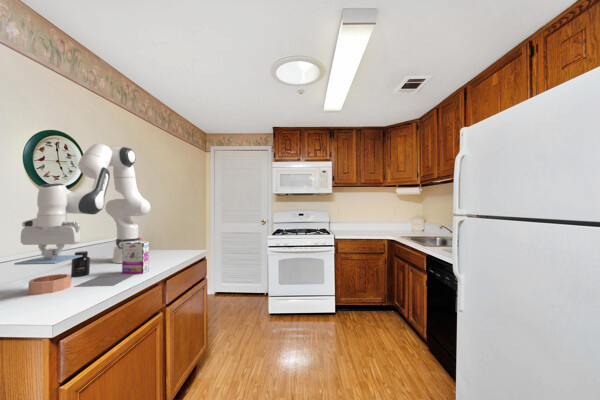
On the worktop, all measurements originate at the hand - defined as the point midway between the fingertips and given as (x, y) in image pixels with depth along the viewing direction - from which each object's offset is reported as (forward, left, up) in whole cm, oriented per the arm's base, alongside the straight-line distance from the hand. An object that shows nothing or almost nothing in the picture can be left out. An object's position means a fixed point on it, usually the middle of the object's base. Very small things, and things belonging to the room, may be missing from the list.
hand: (51, 255), depth 101 cm
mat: (-10, +15, -15) cm, 23 cm away
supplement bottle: (-20, -3, -15) cm, 25 cm away
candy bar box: (-23, +21, -15) cm, 35 cm away
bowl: (0, 0, -15) cm, 15 cm away
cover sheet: (0, 0, -2) cm, 2 cm away
